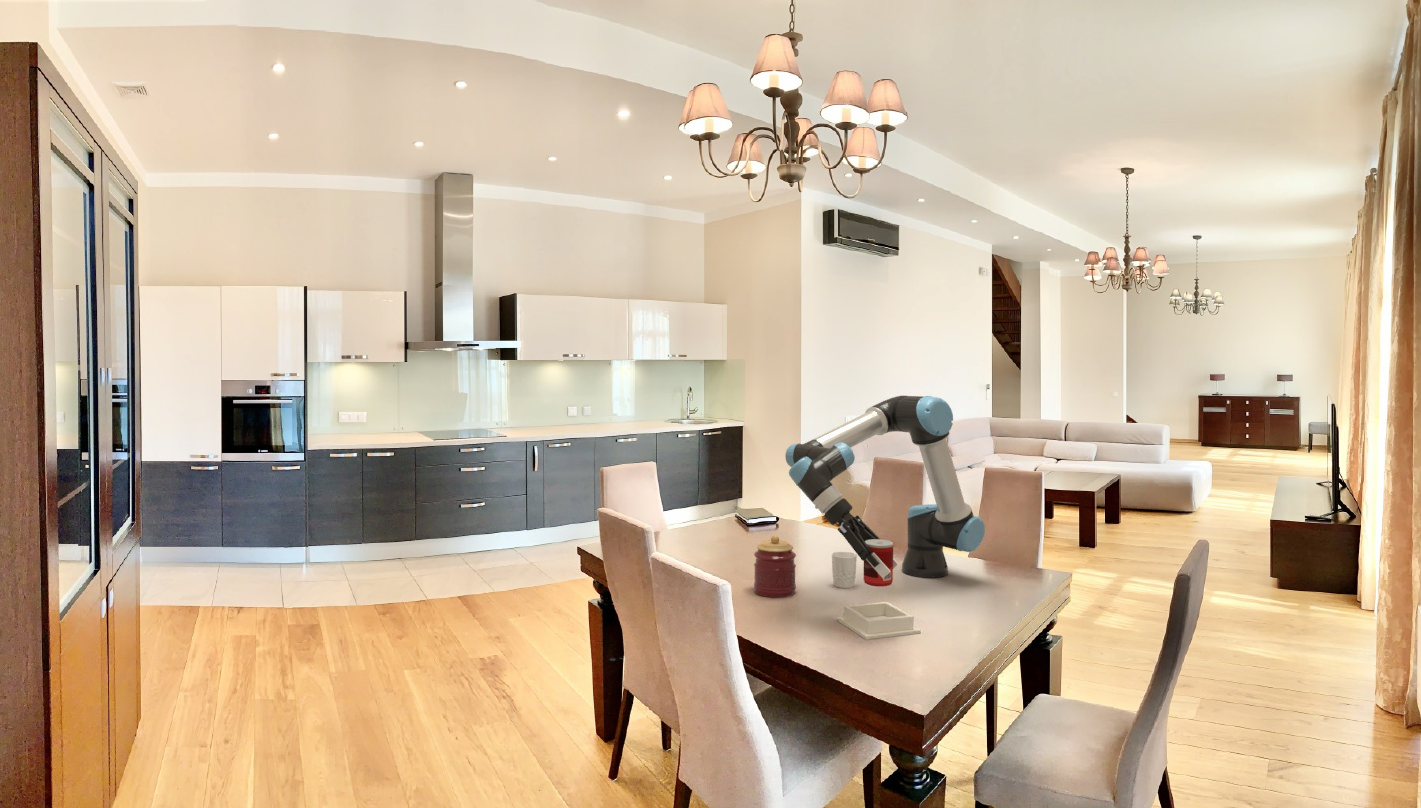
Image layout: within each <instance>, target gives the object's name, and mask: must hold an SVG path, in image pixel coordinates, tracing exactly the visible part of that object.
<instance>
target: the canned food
mask: <svg viewBox="0 0 1421 808" xmlns="http://www.w3.org/2000/svg"><path fill="white" fill-rule="evenodd" d="M865 543H866V544H867V546H868V547H869V549H870V550H871V552H872V553H873V552H874V553H875V554H876V555H877V556H878V557H879V559H880V560H881V561H882V562H883V563H884V564H885V565H886V567H887V568H888V569H889V570H890V571H891V572H890V573H889V574H887V575H886V576H885V577H884V578H882V577H881V576H880V575H879V574H878V572H877V571H876V570H875V569H874V568H873V567H872V566H871V564H870V563H869V562H868V561H867V560H866V559H865V560H864V561H863V582H864V584H866V585H868V586H872V587H878V588H879V587H882V588H883V587H888V586H891V585H892V583H893V579H894V577H893V575H894V568H893V558H894V542H893V541H891V540H888V539H882V538H880V539H871V540H866V541H865Z"/></svg>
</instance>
